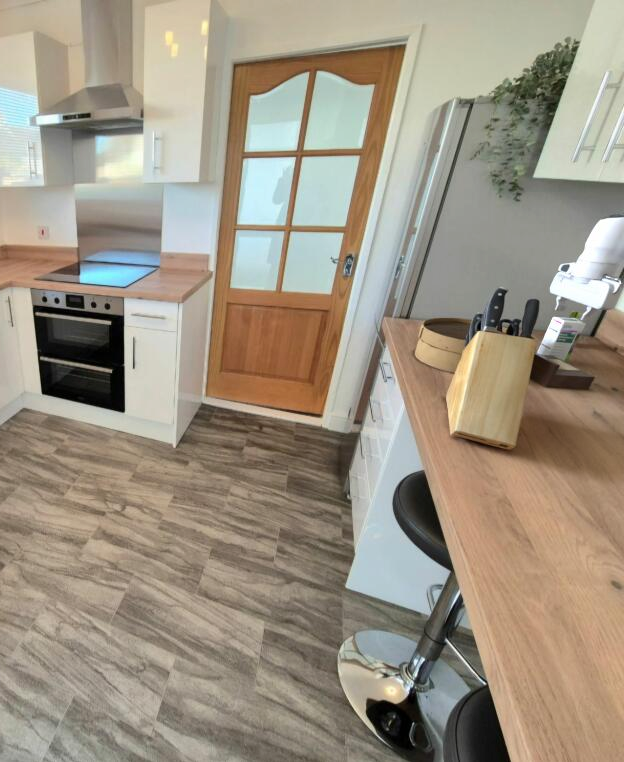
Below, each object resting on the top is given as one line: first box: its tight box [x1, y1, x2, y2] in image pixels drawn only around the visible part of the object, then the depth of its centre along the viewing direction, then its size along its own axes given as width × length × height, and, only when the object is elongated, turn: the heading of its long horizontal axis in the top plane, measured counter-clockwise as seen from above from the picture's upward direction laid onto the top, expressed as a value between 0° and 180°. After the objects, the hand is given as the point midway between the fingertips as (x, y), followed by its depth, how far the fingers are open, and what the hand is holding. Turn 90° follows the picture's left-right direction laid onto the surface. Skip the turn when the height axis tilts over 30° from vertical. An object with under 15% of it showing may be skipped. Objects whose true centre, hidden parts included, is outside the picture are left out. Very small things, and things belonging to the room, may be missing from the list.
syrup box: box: [536, 316, 587, 363], centre depth 138 cm, size 6×6×14 cm
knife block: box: [445, 286, 541, 450], centre depth 103 cm, size 11×35×31 cm, turn 147°
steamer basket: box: [414, 317, 520, 374], centre depth 139 cm, size 25×25×11 cm
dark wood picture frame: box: [529, 351, 596, 390], centre depth 129 cm, size 11×16×7 cm
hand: (570, 315), depth 134 cm, fingers open, 8 cm apart
